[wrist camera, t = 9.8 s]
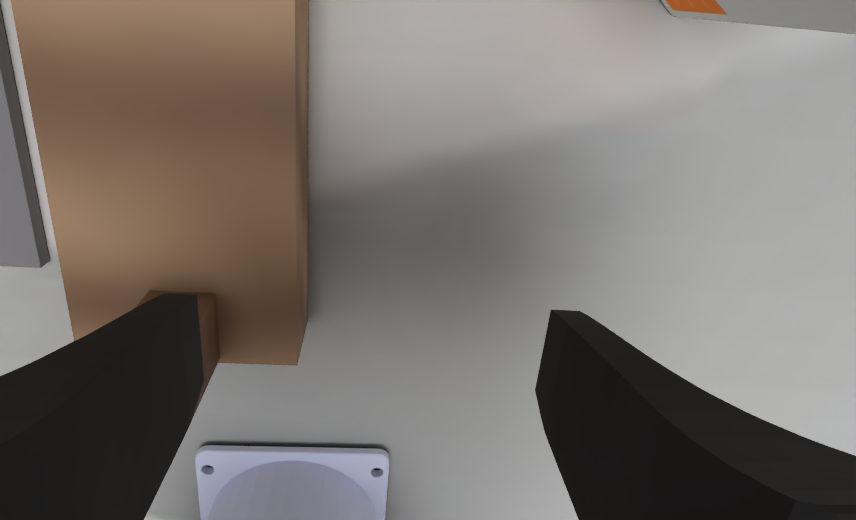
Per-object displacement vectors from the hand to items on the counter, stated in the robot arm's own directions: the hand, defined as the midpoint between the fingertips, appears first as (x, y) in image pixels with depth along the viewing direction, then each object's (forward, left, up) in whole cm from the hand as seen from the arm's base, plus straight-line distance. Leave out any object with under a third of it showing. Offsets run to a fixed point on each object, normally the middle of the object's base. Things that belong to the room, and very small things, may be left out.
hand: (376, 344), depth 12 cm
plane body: (+3, +6, -9) cm, 12 cm away
